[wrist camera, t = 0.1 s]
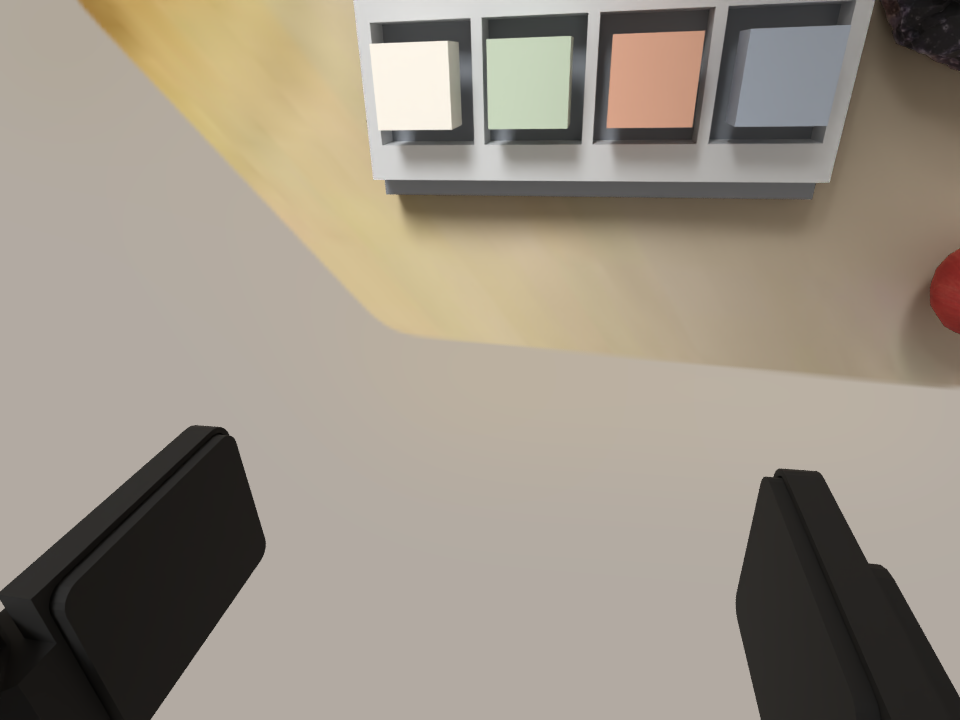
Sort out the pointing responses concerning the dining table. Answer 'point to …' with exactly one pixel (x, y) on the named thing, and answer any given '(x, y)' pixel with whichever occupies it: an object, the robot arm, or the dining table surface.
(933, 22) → the crystal cluster
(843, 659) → the robot arm
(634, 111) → the key terracotta
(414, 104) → the key ivory
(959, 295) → the onion
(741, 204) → the dining table surface
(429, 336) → the dining table surface
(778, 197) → the keypad board
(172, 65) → the dining table surface
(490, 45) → the key sage
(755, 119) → the key slate
